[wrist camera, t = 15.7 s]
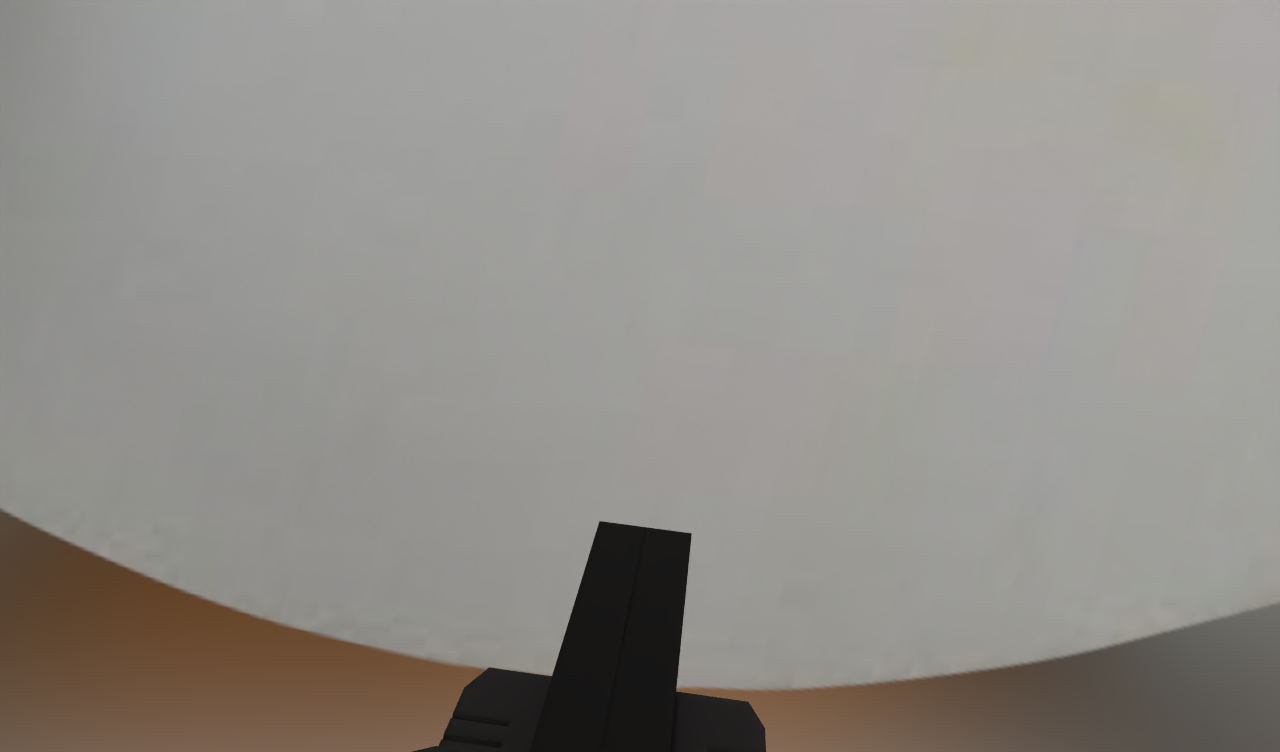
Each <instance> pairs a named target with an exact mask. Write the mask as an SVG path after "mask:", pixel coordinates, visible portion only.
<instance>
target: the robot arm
mask: <svg viewBox="0 0 1280 752" xmlns="http://www.w3.org/2000/svg"><path fill="white" fill-rule="evenodd" d="M690 544H691V533H684V532H676V531H669V530H661V529H654V528H646V527H639V526H632V525H624V524H617V523H609V522H602V521H600V522H599V525H598V528H597V531H596V535H595V538H594V541H593V545H592V548H591V551H590V554H589V558H588V561H587V564H586V567H585V571H584V574H583V577H582V580H581V584H580V587H579V590H578V594H577V597H576V600H575V603H574V607H573V610H572V613H571V616H570V620H569V623H568V626H567V630H566V633H565V636H564V639H563V643H562V646H561V649H560V652H559V656H558V659H557V662H556V665H555V669H554V672H553V675H552V676H545V675H538V674H531V673H524V672H517V671H510V670H503V669H496V668H488V669H487V670H486V671H484V672H483V673H482V674H481V675H479V676H478V677H477V678H476V679H474V680H473V681H472V682H471V683H470V684H468V685H467V686H466V687H465V688H464V690H463V692H462V694H461V696H460V699H459V701H458V703H457V706H456V708H455V710H454V712H453V717H452V718H451V719H450V721H449V724H448V726H447V728H446V730H445V733H444V737H443V740H441V742H440V744H439V746H434V747H430V748H426V749H422V750H417V751H413V752H766V745H765V744H766V743H765V728H764V726H763V724H762V723H761V721H760V720H759V718H758V717H757V715H756V713H755V712H754V710H753V709H752V707H751V705H750V704H749V702H745V701H738V700H731V699H724V698H717V697H710V696H703V695H697V694H690V693H682V692H676V686H677V676H678V666H679V656H680V645H681V635H682V625H683V615H684V605H685V595H686V585H687V575H688V564H689V554H690Z"/></svg>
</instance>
